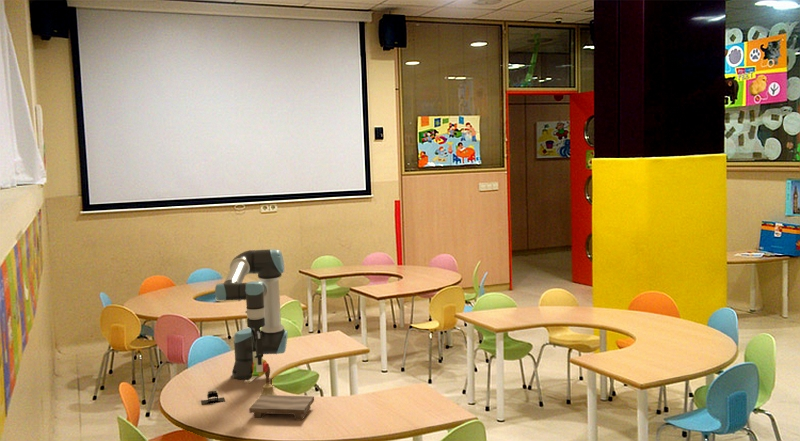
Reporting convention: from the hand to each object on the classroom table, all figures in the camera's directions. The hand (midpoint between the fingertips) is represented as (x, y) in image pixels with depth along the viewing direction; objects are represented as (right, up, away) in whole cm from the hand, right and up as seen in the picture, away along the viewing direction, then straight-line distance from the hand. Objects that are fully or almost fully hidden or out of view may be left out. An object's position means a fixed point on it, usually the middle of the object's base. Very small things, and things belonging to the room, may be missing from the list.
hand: (258, 368), depth 310 cm
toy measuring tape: (0, -3, -3) cm, 4 cm away
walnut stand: (+11, -20, +1) cm, 22 cm away
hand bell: (0, -18, +21) cm, 28 cm away
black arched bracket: (-24, -19, +18) cm, 35 cm away
